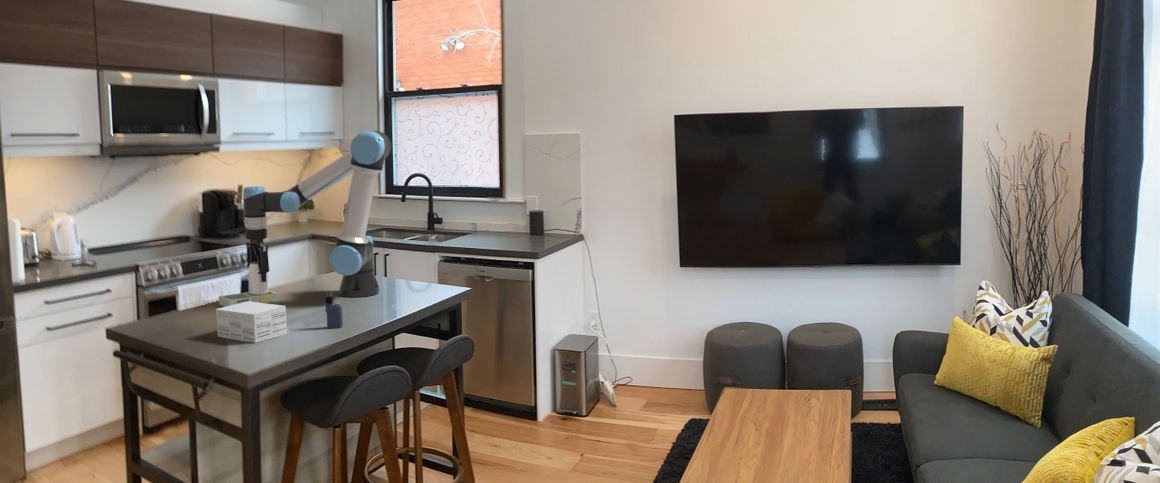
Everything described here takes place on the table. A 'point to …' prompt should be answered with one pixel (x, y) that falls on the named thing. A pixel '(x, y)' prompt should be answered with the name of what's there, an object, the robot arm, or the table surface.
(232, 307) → the supplement box
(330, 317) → the vaping device
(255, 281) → the can
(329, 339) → the table surface
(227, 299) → the socket board
